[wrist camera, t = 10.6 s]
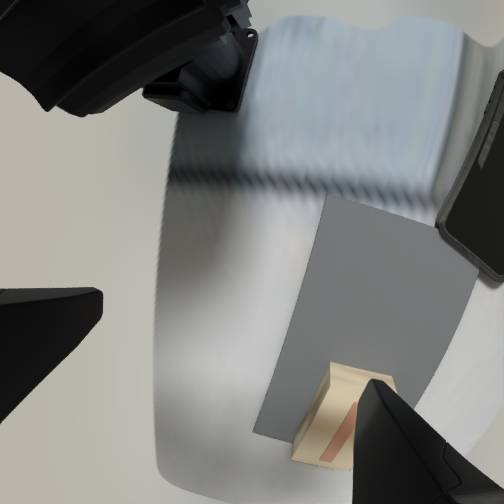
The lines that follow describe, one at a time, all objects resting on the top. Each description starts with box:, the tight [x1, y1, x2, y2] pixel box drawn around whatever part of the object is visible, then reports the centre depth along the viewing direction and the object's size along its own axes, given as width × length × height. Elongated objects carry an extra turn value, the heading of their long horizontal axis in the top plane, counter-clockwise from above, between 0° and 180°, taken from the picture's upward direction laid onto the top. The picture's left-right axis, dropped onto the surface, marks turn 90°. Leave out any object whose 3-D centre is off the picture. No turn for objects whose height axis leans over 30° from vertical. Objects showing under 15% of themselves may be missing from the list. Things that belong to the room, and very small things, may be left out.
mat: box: [253, 194, 480, 443], centre depth 20 cm, size 20×12×1 cm, turn 167°
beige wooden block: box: [291, 362, 397, 471], centre depth 20 cm, size 8×5×3 cm, turn 166°
